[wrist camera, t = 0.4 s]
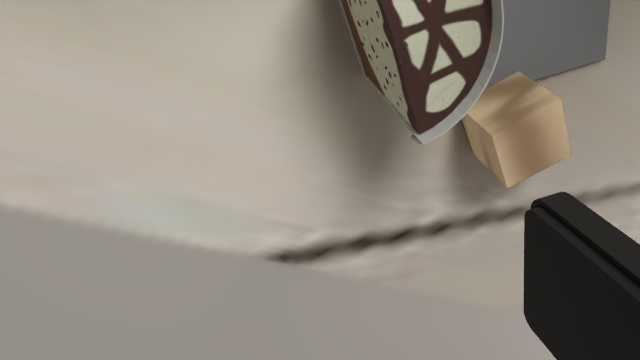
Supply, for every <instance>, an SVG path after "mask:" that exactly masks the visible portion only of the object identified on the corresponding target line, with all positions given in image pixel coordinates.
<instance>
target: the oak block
mask: <svg viewBox="0 0 640 360" xmlns="http://www.w3.org/2000/svg"><path fill="white" fill-rule="evenodd" d="M462 121H463V124H464V127H465V130H466V133H467V136H468V139H469V142H470V145H471V148H472V151H473V154H474V155H475V156H476V157H477V158H478V159H479V160H480V161H481V162H482V163H483V164H484V165H485V166H486V167H487V168H488V169H489V170H490V171H491V172H492V173H493V174H494V175H495V176H496V177H497V178H498V179H499V180H500V181H501V182H502V183H503V184H504V185H505V187H506V188H509V187H511V186H513V185H515V184H517V183H519V182H521V181H523V180H524V179H526V178H528V177H530V176H532V175H534V174H536V173H538V172H540V171H541V170H543V169H545V168H547V167H549V166H551V165H553V164H555V163H557V162H559V161H560V160H562V159H564V158H566V157H568V156H570V155H571V150H570V144H569V139H568V133H567V127H566V122H565V116H564V110H563V105H562V99H561V98H560V97H558V96H557V95H555V94H554V93H552V92H550V91H549V90H547V89H546V88H544V87H543V86H541V85H539V84H538V83H536V82H535V81H533V80H532V79H530V78H528V77H527V76H525V75H524V74H522V73H521V72H519V71H518V72H516V73H514V74H512V75H510V76H508V77H507V78H505V79H503V80H501V81H499V82H497V83H495V84H494V85H492V86H490V87H488V88H486V89H485V90H484V91H483V93H482V94H481V96H480V97H479V99H478V100H477V102H476V103H475V104H474V106H473V107H472V108H471V109H470V110H469V111H468V113H467V114H466V115H465V116H464V117H463V118H462Z"/></svg>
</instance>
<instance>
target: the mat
mask: <svg viewBox="0 0 640 360" xmlns="http://www.w3.org/2000/svg"><path fill="white" fill-rule="evenodd" d="M609 3H610V0H503V9H504V30H503V39H502V44H501V49H500V54H499V57H498V60H497V63H496V66H495V69H494V72H493V74H492V76H491V78H490V80H489V82H488V84H487V86H486V88H488V87H490V86H492V85H494V84H495V83H497V82H499V81H501V80H503V79H505V78H507V77H508V76H510V75H512V74H514V73H516V72H518V71H519V72H521V73H522V74H524V75H525V76H527V77H528V78H530V79H532V80H533V81H534V80H537V79H540V78H544V77H547V76H550V75H553V74H557V73H560V72H563V71H567V70H570V69H573V68H577V67H580V66H583V65H587V64H590V63H593V62H596V61H600V60H603V59H605V54H606V41H607V28H608V16H609ZM486 88H485V89H486Z"/></svg>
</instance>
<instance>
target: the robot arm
mask: <svg viewBox="0 0 640 360" xmlns="http://www.w3.org/2000/svg"><path fill="white" fill-rule="evenodd" d="M524 315H525V318H526V320H527V323H528V324H529V326H530V328H531V329H532V330H533V332H534V333H535V334H536V335H537V336H538V337H539V339H540V340H541V341H542V342H543V343H544V344H545V346H546V347H547V348H548V349H549V351H550V352H551V353H552V354H553V356H554V357H555V358H556V359H557V360H640V245H639V244H638V243H637V242H635V241H634V240H632V239H631V238H630V237H628V236H627V235H626V234H624V233H623V232H621V231H620V230H619V229H617V228H616V227H614V226H613V225H612V224H610V223H609V222H608V221H606V220H605V219H603V218H602V217H601V216H599V215H598V214H596V213H595V212H594V211H592V210H591V209H590V208H588V207H587V206H585V205H584V204H583V203H581V202H580V201H579V200H577V199H576V198H574V197H573V196H572V195H570V194H568V193H566V192H559V193H556V194H553V195H550V196H546V197H543V198H540V199H537V200H535V201H533V203H532V204H531V209H530V210H528V211H526V213H525V231H524Z"/></svg>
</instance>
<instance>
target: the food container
mask: <svg viewBox="0 0 640 360" xmlns="http://www.w3.org/2000/svg"><path fill="white" fill-rule="evenodd" d="M338 1H339V4H340V7H341V10H342V13H343V16H344V19H345V22H346V25H347V28H348V31H349V34H350V37H351V40H352V43H353V46H354V49H355V52H356V55H357V58H358V61H359V64H360V67H361V70H362V73H363V76H364V77H365V78H366V79H367V80H368V81H369V83H370V84H371V85H372V86H373V87H374V89H375V90H376V91H377V92H378V93H379V94H380V96H381V97H382V98H383V99H384V100H385V102H386V103H387V104H388V105H389V106H390V107H391V109H392V110H393V111H394V112H395V113H396V115H397V116H398V117H399V118H400V119H401V120H402V122H403V123H404V124H405V125H406V126H407V128H408V129H409V130H410V131H411V132H412V133H413V135H412V136H411V138H412V139H413V140H414V141H415V142H417V143H418V144H422V145H423V146H424V145H425V144H427V143H429V142H431V141H433V140H435V139H437V138H438V137H440V136H441V135H442V134H444V133H445V132H447V131H448V130H450V129H451V128H452V127H453V126H454V125H455V124H457V123H458V122H459V121H460V120H461V119H462V118H463V117H464V116H465V115H466V114H467V113H468V111H469V110H470V109H471V108H472V107H473V106H474V104H475V103H476V102H477V100H478V99H479V97H480V96H481V94H482V93H483V91H484V90H485V88H486V86H487V84H488V82H489V80H490V78H491V76H492V74H493V72H494V69H495V66H496V63H497V60H498V57H499V54H500V49H501V44H502V39H503V30H504V9H503V0H338Z"/></svg>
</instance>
